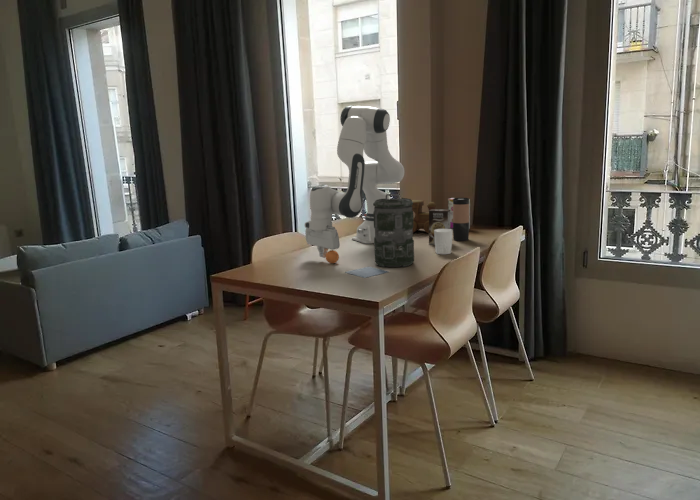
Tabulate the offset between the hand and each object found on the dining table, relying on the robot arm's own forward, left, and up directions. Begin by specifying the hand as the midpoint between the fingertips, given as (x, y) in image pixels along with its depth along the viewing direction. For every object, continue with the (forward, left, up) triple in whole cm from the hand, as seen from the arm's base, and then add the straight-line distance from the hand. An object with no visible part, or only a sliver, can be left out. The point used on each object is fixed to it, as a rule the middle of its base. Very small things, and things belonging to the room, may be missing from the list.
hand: (323, 257), depth 224 cm
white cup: (+26, +45, -2) cm, 52 cm away
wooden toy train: (-18, +77, -2) cm, 79 cm away
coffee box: (+11, +59, -2) cm, 60 cm away
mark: (+28, 0, -2) cm, 28 cm away
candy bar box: (-9, +96, -2) cm, 97 cm away
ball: (+6, 0, +1) cm, 6 cm away
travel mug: (+12, +73, -2) cm, 74 cm away
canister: (+25, +17, -2) cm, 31 cm away
